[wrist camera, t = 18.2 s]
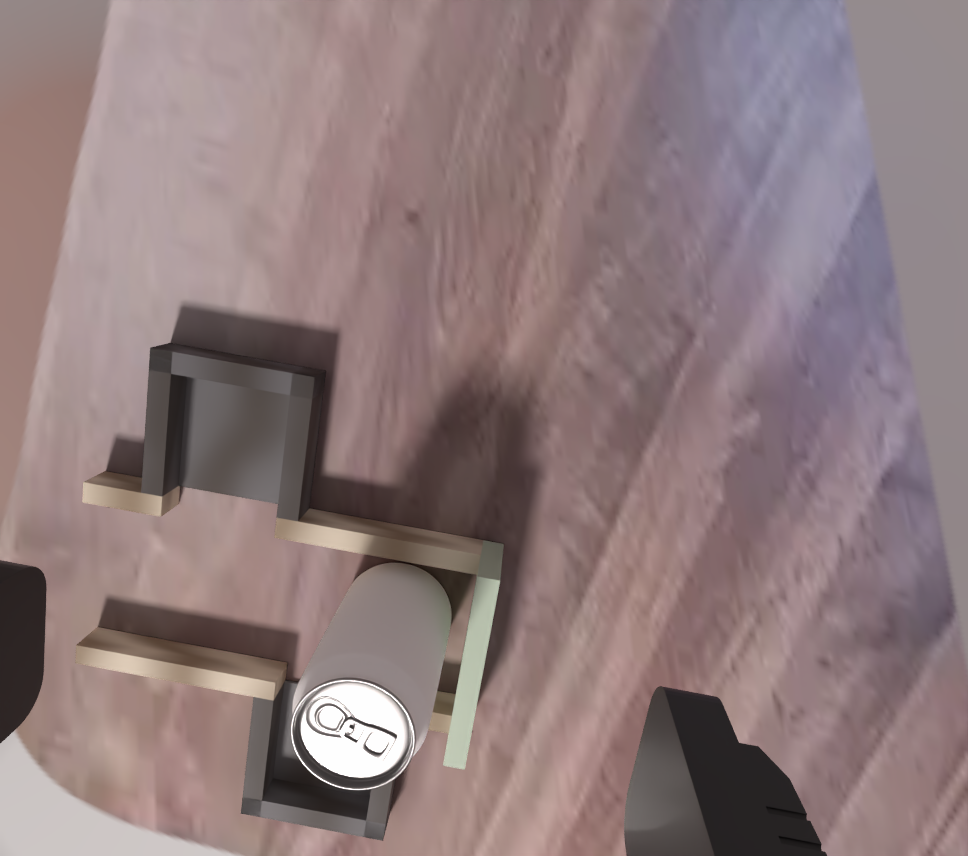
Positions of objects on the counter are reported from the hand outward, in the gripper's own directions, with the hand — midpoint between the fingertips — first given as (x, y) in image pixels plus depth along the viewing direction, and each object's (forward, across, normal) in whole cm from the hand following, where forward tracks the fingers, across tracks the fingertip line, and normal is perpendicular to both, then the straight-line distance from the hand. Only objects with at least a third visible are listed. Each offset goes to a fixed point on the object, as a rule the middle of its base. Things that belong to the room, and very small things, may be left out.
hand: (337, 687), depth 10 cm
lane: (+32, +10, +16) cm, 37 cm away
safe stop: (+32, -2, +16) cm, 36 cm away
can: (+32, +2, +16) cm, 36 cm away
